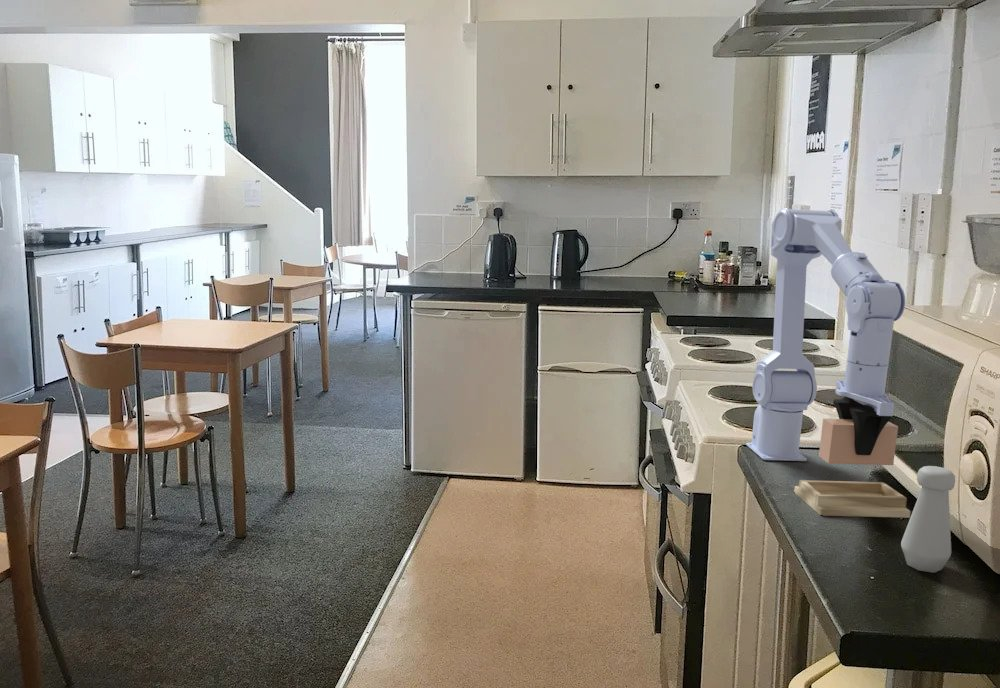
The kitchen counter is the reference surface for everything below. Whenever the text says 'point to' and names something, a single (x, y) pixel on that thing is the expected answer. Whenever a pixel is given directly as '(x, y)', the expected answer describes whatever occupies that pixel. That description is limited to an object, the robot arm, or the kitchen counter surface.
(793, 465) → the kitchen counter surface
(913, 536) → the salt shaker
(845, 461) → the clay block
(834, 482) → the tray
